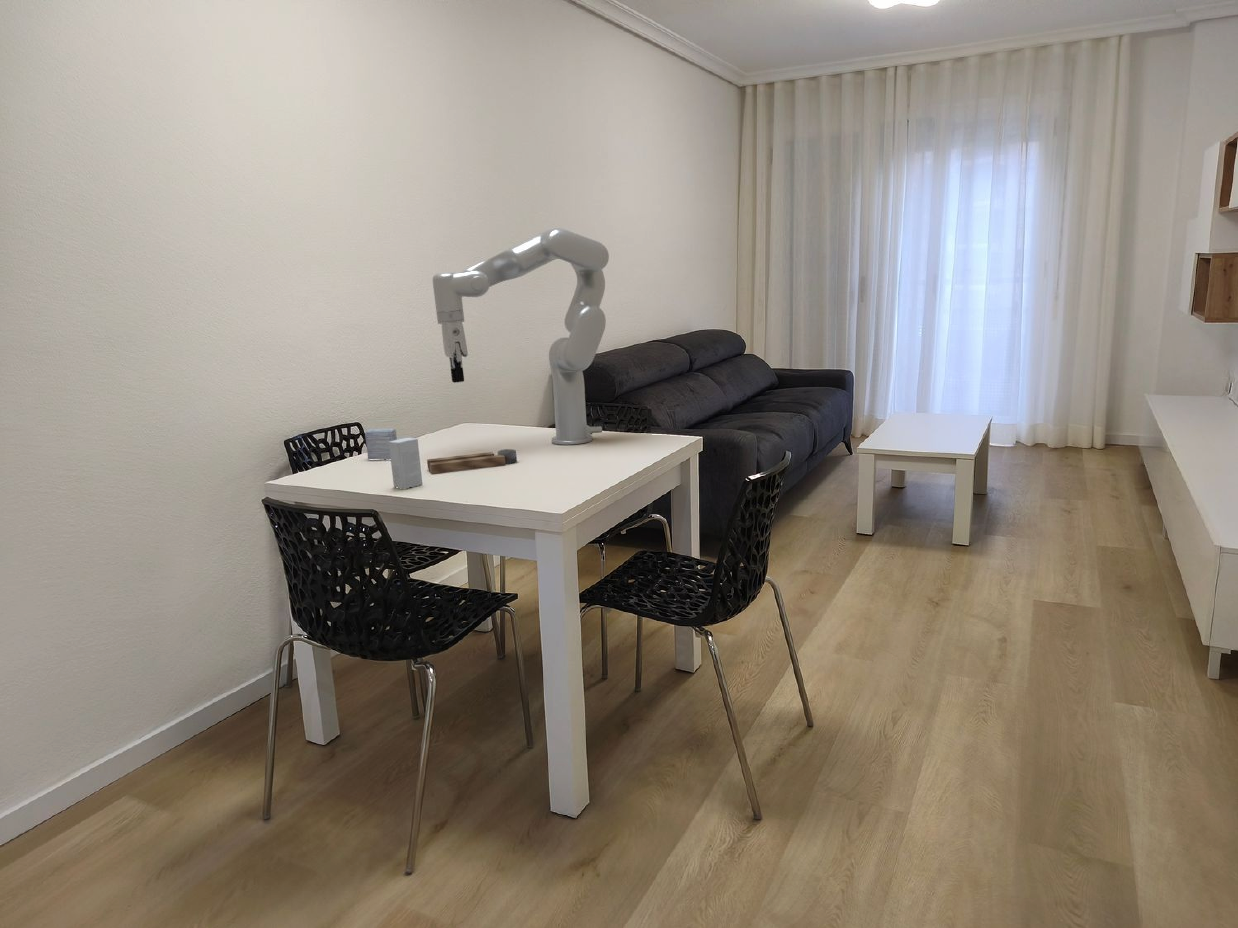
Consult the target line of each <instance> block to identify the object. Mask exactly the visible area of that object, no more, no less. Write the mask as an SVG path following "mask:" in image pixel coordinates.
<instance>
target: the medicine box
mask: <svg viewBox="0 0 1238 928" xmlns="http://www.w3.org/2000/svg"><path fill="white" fill-rule="evenodd" d="M364 435H365V445H366V452H367V460H368V459H391V458H390V449H389V441H394V440H398V438H397V429H396V428H376V429H375V428H371V429H368V430H367V431H365V432H364Z"/></svg>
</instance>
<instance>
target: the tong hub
mask: <svg viewBox="0 0 1238 928" xmlns="http://www.w3.org/2000/svg"><path fill="white" fill-rule="evenodd" d="M517 459H518V457H517V449H501V450H498V451H497V455H496V454H494V456H485V457H477V458H468V459H460V460H451V461H442V462H434V463H429V465H430V470H429V472H430V474H431V475H437V473H438V474H445V473H454V472H461V471H469V470H470V471H471V470H479V469H485V468H495V467H502V466H506V465H514V464H516V463H517V462H518V460H517Z"/></svg>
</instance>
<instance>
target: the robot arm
mask: <svg viewBox="0 0 1238 928" xmlns="http://www.w3.org/2000/svg"><path fill="white" fill-rule="evenodd" d="M609 259H610V255H609V251H608V249H607V247H606V246H605V245H604V244H603V243H602V242H600V241H597V240H595V239H592V238H589V237H587V236H583V235H580V234H578V233H575V232H572V231H569V230H566V229H564V228H553V229H548V230H545V231H542V232H540V233H538V234H537V235H534V236H532V237H530V238H528V239H526V240H524V241H522V242H520V243H518V244H516V245H514V246H512V247H509V248H508V249H505V250H504V251H501V252H500V253H498V254H496V255H493V256H492V257H490V258H487V259H486V260H484V261H481V262H479V263H477V264H475V265H473V266H471V267H468V268H467V269H465V270H463V271H461V272H459V273H456V272H443V273H436V274H434V275H433V277H432V287H433V296H434V303H435V304H434V305H435V312H436V320H437V325H441V332H442V333H441V334H442V343H443V351H444V355H445V356H446V357H447V358H448V359H449V365H450V375H451V381H452V383H463V382H465V376H464V375H465V373H464V368H463V358H462V357H464V358H466V357H468V356H469V354H468V347H467V346H468V345H467V339H466V334H465V330H464V325H463V323H465V313H464V305H463V298H464V297H466V298H479V297H482V296H484V295H485V294H486V293H487V292H488V291H489V289H490V288H491V287H493V286H495V285H498V284H500V283H503V282H505V281H509V280H514V279H517V278H521V277H523V276H525V275H527V274H529V273H531V272H534V271H535V270H537V269H539V268H541V267H543V266H544V265H547V264H548V263H550V262H553V261H554V260H562V261H565V262H567V263H570V265H571V266H572V269H573V270H574V273H575V276H576V288H575V289H574V293H573V295H572V297H571V301H570V303H569V307H568V309H567V311H566V314H565V317H564V326H565V329H566V331H568V332H569V333H570V334H569V336H568V337H560V338H558V339H556V340H554V341H553V342H552V344H551V345H550V347H549V350H548V360H549V361H548V362H549V366H550V372H551V377H552V378H551V379H552V391H553V408H554V423H555V436H553V437H551V438H550V439H551V440H550V442H551V443H552V444H555V445H561V446H562V445H564V446H565V445H567V446H568V445H581V444H585V443H589V442H591V441H593V436H592V435H593V434H600V433H602V432H603V428H602V426H601V425H600V426H590V425H588V424H587V409H586V393H585V392H586V390H585V388H586V387H585V379H584V378H585V377H584V372H583V371H585V370H586V369H588V368H589V366H590V365H592V363H593V360H594V359H595V357H596V354H597V351H598V348H599V346H600V343H601V341H602V338H603V336H604V333H605V330H606V325H607V321H606V315H605V313H604V310H603V309H602V308H600V307H601V304H602V301H603V298H604V294H605V291H606V290H605V289H606V279H605V273H604V271H603V269H605V268H606V267H607V265H608V263H609ZM462 297H463V298H462Z"/></svg>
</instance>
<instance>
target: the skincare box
mask: <svg viewBox="0 0 1238 928" xmlns="http://www.w3.org/2000/svg"><path fill="white" fill-rule="evenodd" d="M389 449H390V458H391V460H390V464H391V472H392V482H393V483H392V484H393V488H394V487H398V488H401V489H400V490H402V489H405V490H407V489H406V488H408V489H410V488H409V487H412V488H415V487H418V486H422V485H423V475H422V467H421V458H420V449H419V439H418V438H414V437H404V438H399V439H398V438H397V440H394V441H389Z"/></svg>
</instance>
